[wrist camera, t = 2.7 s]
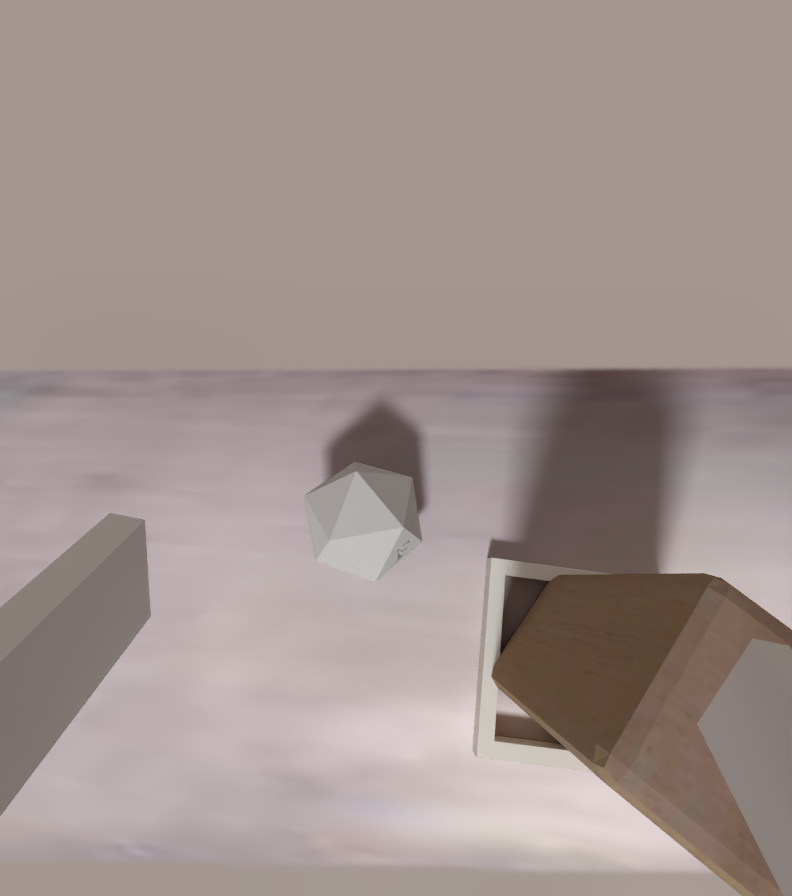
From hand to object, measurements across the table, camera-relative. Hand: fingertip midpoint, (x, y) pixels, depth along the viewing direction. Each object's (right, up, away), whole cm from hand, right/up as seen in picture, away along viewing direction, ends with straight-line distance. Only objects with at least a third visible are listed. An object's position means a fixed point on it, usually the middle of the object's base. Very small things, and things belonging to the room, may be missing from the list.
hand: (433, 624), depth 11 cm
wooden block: (+13, -13, +28) cm, 33 cm away
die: (-3, -2, +30) cm, 30 cm away
